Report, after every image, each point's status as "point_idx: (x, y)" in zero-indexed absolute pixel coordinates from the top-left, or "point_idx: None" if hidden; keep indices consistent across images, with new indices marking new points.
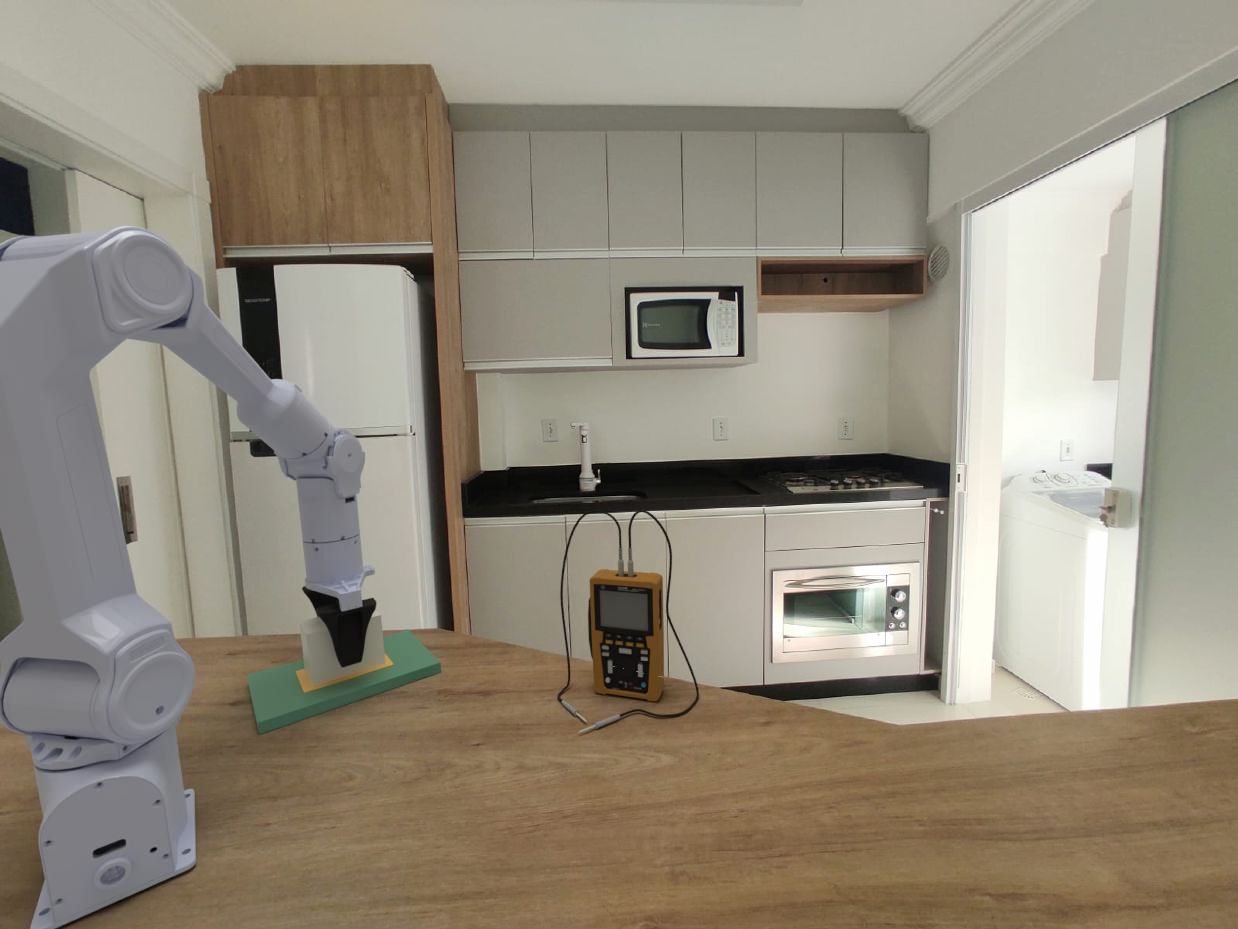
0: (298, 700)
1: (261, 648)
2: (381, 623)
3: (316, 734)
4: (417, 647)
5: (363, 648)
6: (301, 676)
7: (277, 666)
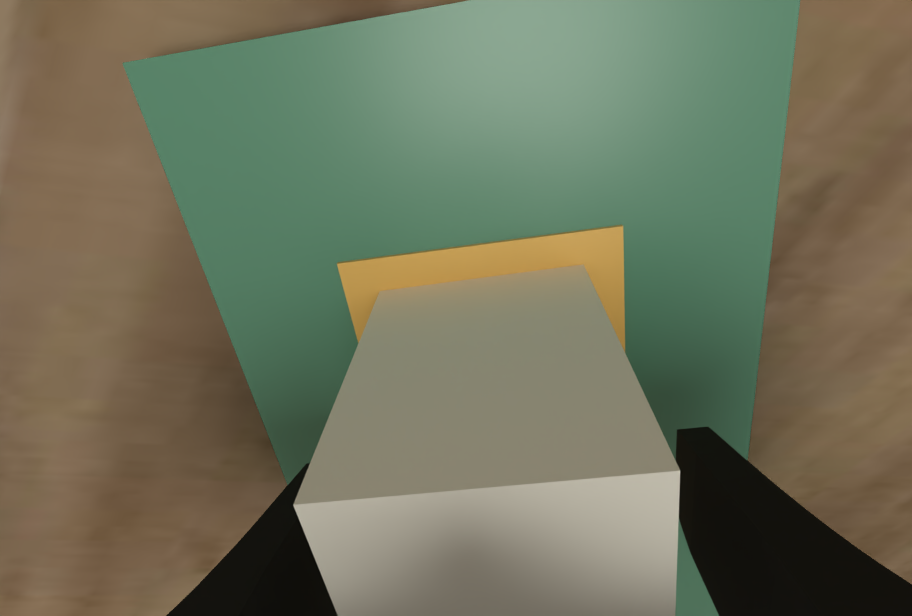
0: None
1: (68, 592)
2: (650, 412)
3: (852, 487)
4: (463, 52)
5: (759, 471)
6: None
7: None
